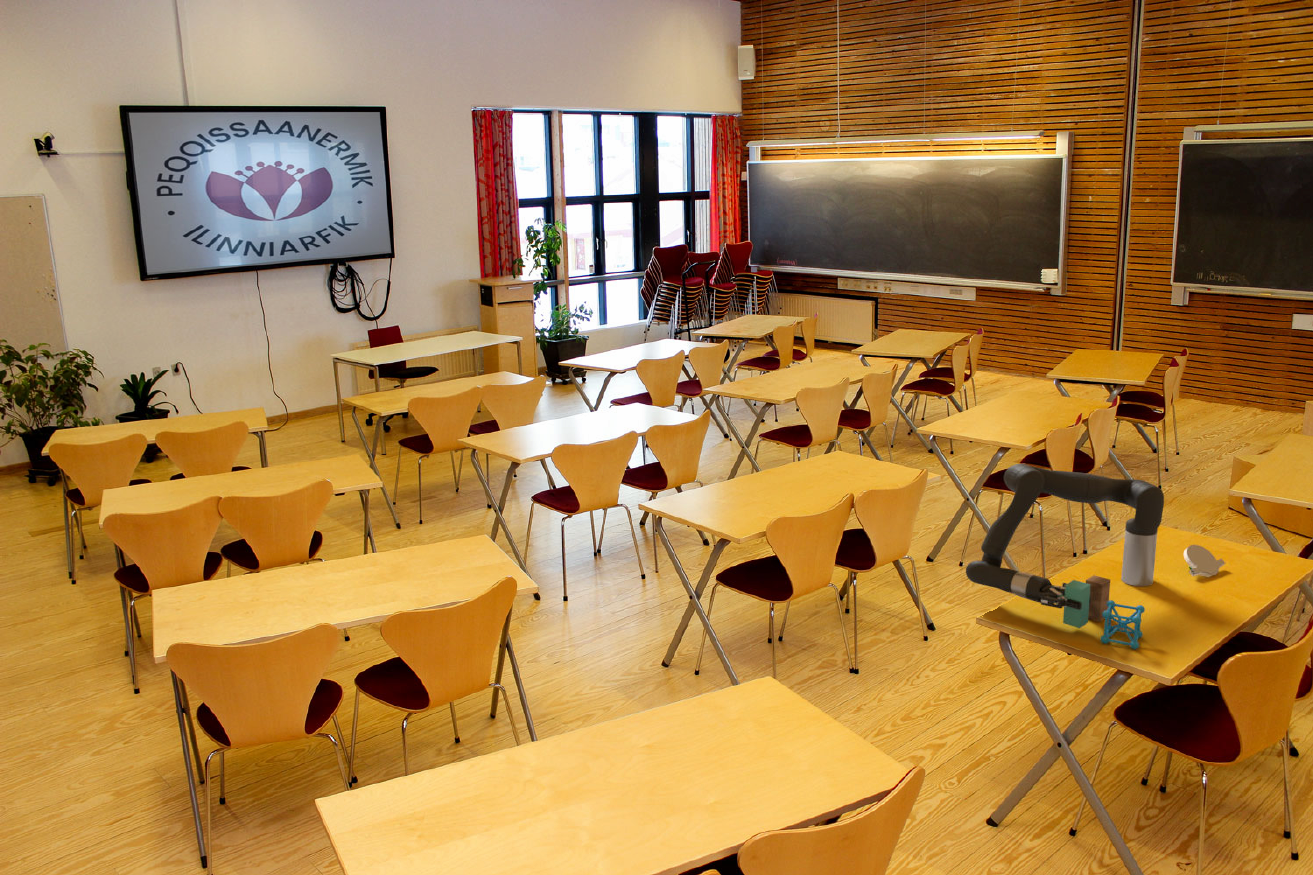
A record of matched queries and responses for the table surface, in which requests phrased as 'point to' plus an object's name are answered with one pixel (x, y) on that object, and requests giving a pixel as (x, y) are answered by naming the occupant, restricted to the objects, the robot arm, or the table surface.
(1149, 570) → the robot arm
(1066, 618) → the teal pillar
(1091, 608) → the walnut pillar
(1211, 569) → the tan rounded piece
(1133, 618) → the molecular structure
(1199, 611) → the table surface
